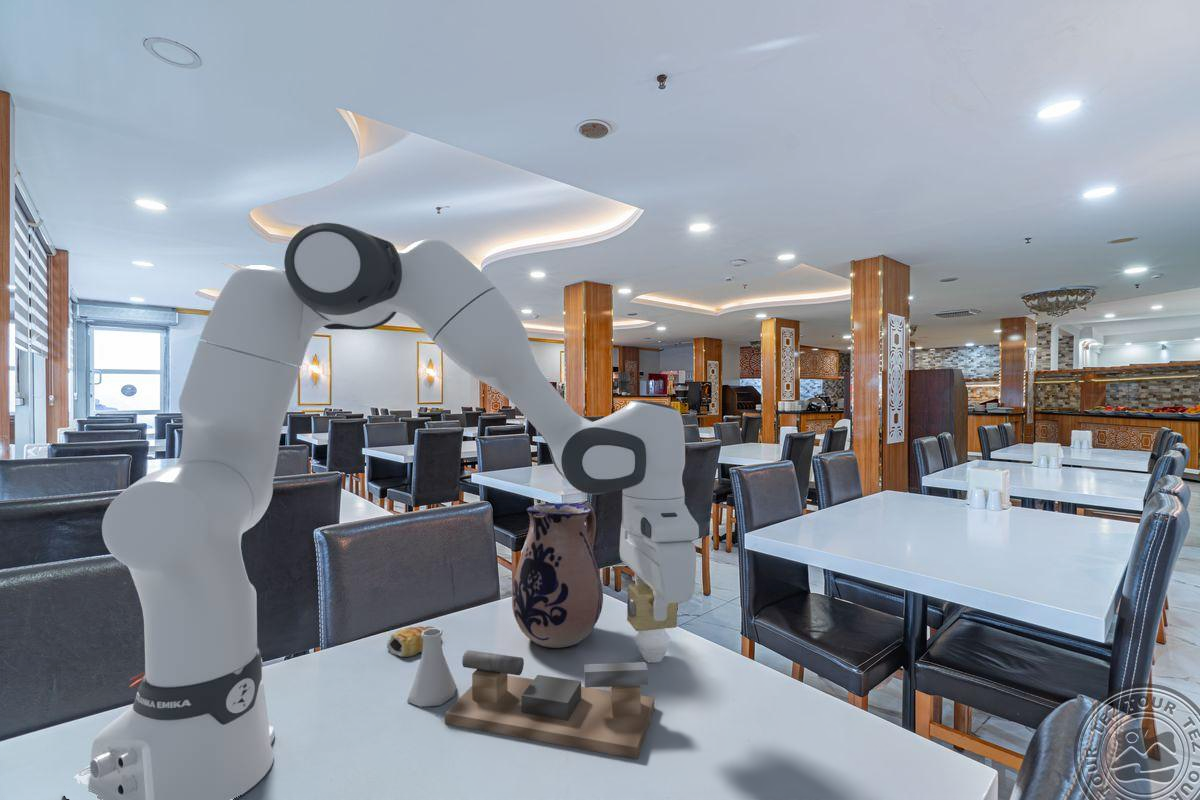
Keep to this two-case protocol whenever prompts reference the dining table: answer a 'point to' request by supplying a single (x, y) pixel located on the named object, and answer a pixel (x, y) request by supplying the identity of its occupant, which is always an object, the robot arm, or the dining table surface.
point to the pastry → (407, 641)
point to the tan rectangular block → (647, 610)
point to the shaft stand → (557, 704)
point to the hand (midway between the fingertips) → (651, 611)
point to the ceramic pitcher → (558, 576)
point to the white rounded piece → (653, 644)
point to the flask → (432, 673)
